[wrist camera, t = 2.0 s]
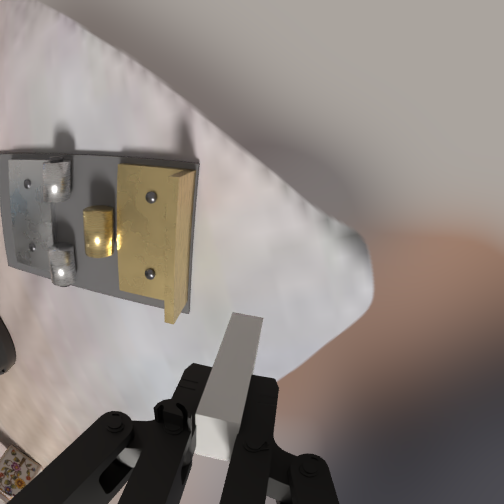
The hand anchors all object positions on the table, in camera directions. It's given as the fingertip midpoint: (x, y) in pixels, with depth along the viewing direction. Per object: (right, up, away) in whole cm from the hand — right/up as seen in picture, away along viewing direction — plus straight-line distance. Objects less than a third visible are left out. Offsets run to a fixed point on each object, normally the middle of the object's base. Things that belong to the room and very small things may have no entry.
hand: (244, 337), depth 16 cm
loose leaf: (-10, +6, +12) cm, 16 cm away
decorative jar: (-65, -57, +45) cm, 97 cm away
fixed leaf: (-21, +8, +13) cm, 26 cm away
